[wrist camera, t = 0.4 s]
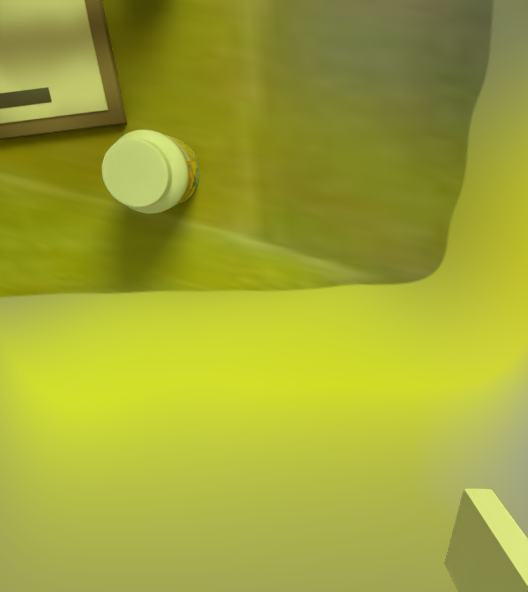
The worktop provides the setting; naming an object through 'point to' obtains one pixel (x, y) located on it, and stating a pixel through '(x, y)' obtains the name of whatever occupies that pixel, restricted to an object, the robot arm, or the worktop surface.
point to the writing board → (56, 68)
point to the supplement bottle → (150, 171)
